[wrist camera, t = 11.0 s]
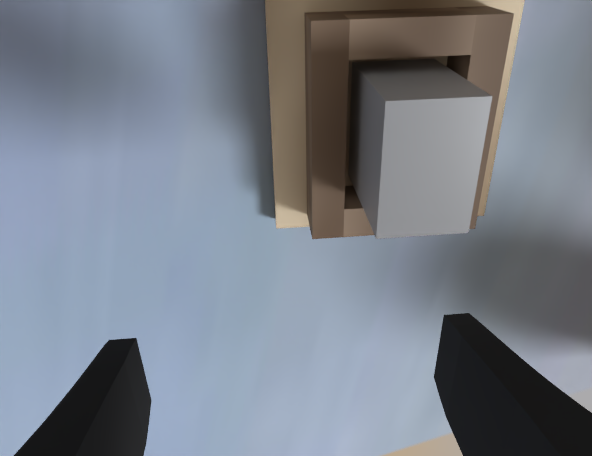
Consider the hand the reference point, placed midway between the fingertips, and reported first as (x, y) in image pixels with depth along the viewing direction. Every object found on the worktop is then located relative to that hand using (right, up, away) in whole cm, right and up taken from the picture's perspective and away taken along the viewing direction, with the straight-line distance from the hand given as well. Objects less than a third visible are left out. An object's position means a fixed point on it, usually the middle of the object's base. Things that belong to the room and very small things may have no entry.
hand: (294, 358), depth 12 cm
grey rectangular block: (+4, +7, +7) cm, 11 cm away
